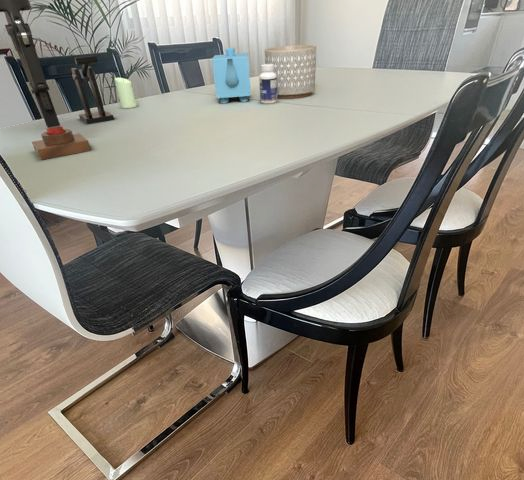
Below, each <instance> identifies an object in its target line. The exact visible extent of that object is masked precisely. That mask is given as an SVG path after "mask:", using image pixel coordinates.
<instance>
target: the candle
mask: <svg viewBox="0 0 524 480" xmlns="http://www.w3.org/2000/svg"><path fill="white" fill-rule="evenodd" d="M114 83H115V87H116V91H117V95H118V98H119V102H120V106H121V108H122V109H133V108H136V107H137V102H136V97H135V92H134V89H133V84H132V81H131V80H129V79H128V78H124V77H114Z"/></svg>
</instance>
